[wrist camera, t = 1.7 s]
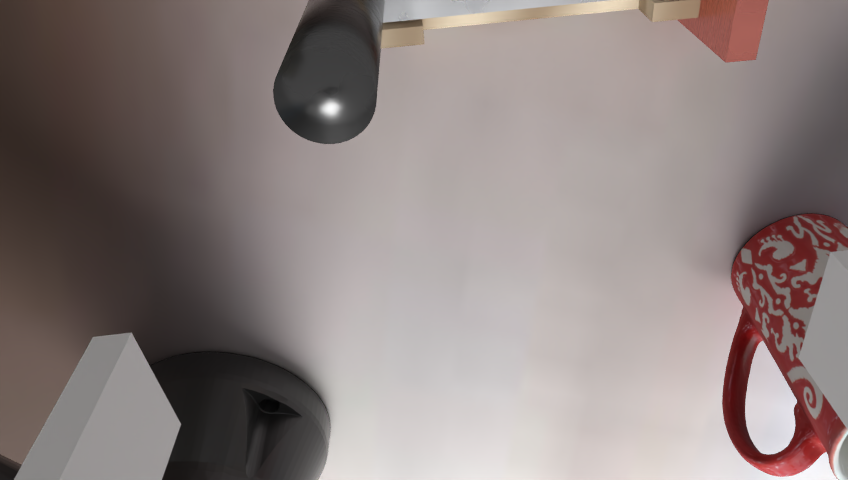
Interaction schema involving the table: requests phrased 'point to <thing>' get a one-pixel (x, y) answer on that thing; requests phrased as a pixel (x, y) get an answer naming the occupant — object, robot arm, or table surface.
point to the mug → (784, 338)
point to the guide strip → (535, 17)
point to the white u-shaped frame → (379, 3)
